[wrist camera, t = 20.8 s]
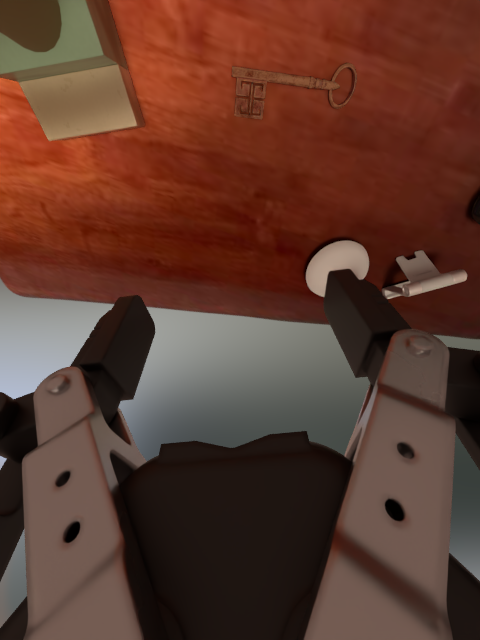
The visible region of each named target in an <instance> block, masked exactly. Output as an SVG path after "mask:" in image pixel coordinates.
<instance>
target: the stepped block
mask: <svg viewBox="0 0 480 640" xmlns="http://www.w3.org/2000/svg"><path fill="white" fill-rule="evenodd" d="M58 3H59V6H60V13H61V22H62V25H61V32H60V38H59V40H58V42H57V43H56V45H55V47H54V48H52V49H50V50H49V51H47V52H33V51H31V50H28V49H26V48H23V47H22V46H20V45H19V44H17V43H16V42H14V41H13V40H11V39H10V38H8V37H7V36H5V35H4V34H2V33H1V32H0V77H1V78H5V79H9V80H13V81H17V82H19V84H20V86H21V88H22V90H23V92H24V94H25V96H26V98H27V100H28V102H29V104H30V105H31V107H32V109H33V111H34V113H35V115H36V117H37V119H38V121H39V123H40V125H41V127H42V129H43V130H44V132H45V134H46V136H47V138H48V140H49V141H56V140H68V139H74V138H80V137H86V136H92V135H98V134H103V133H109V132H115V131H121V130H127V129H133V128H139V127H145V124H144V120H143V117H142V114H141V110H140V107H139V104H138V100H137V97H136V93H135V90H134V87H133V83H132V80H131V77H130V73H129V71H128V67H127V63H126V60H125V57H124V53H123V50H122V47H121V43H120V40H119V37H118V33H117V30H116V27H115V23H114V20H113V16H112V13H111V10H110V6H109V3H108V0H58Z"/></svg>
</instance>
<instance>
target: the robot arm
mask: <svg viewBox="0 0 480 640" xmlns="http://www.w3.org/2000/svg"><path fill="white" fill-rule="evenodd" d="M324 311H325V315H326V317H327V319H328V321H329V323H330V325H331V327H332V329H333V331H334V334H335V336H336V338H337V340H338V342H339V344H340V346H341V348H342V350H343V352H344V354H345V356H346V358H347V360H348V363H349V365H350V367H351V369H352V371H353V373H354V375H355V377H356V378H358V377H368V379H369V381H370V385H369V388H368V390H367V393H366V396H365V399H364V402H363V406H362V408H361V411H360V414H359V417H358V420H357V423H356V426H355V429H354V432H353V434H352V437H351V439H350V442H349V444H348V447H347V450H346V452H345V455H344V456H343V455H342V454H340V453H338V452H337V451H335V450H333V449H331V448H329V447H327V446H324V445H321V444H318V443H315V442H310V441H309V439H308V435H307V431H302V432H291V433H280V434H270V435H267V436H264V437H262V438H259V439H256V440H254V441H251V442H249V443H246V444H244V445H241V446H238V447H235V448H227V447H223V446H218V445H213V444H208V443H203V442H198V441H191V442H179V443H169V444H161V448H160V452H159V456H156V457H154V458H152V459H151V460H149V461H147V462H146V460H145V459H144V457H143V456H142V455H141V453H140V452H139V450H138V448H137V446H136V444H135V442H134V440H133V437H132V435H131V433H130V430H129V428H128V426H127V423H126V421H125V419H124V416H123V414H122V412H121V410H120V409H119V408H118V406H119V404H120V401H122V400H131V399H133V398H134V395H135V392H136V389H137V386H138V383H139V380H140V377H141V374H142V371H143V368H144V365H145V362H146V359H147V356H148V353H149V350H150V347H151V344H152V341H153V338H154V335H155V325H154V322H153V319H152V318H151V316H150V314H149V312H148V310H147V308H146V306H145V304H144V302H143V300H142V298H141V297H140V296H138V295H134V296H126V297H120V298H118V300H117V301H116V303H115V305H114V306H113V308H112V310H109V311H108V312H107V313H106V314H105V315H104V316H103V317H101V318H100V320H99V322H98V323H97V324H96V326H95V327H94V330H93V331H92V332H91V334H90V336H89V338H88V339H87V340H86V342H85V344H84V345H83V347H82V348H81V350H80V352H79V353H78V355H77V356H76V358H75V360H74V361H73V363H72V364H71V366H70V367H66V368H62V369H60V370H58V371H56V372H54V373H52V374H51V375H49V376H48V377H47V378H46V379H44V380H43V381H42V382H41V383H40V385H39V386H38V387H37V389H36V391H35V392H33V393H30V394H27V395H24V396H22V397H19V398H16V399H12V398H11V397H9V396H7V395H6V394H4V393H2V392H0V456H2V457H4V458H7V460H6V462H5V463H4V465H3V466H2V468H1V470H0V581H1V579H2V576H3V574H4V572H5V570H6V567H7V565H8V563H9V561H10V559H11V557H12V554H13V552H14V550H15V548H16V545H17V543H18V541H19V539H20V536H21V534H22V532H23V530H24V529H25V553H26V577H27V597H26V598H25V599H24V600H23V602H22V603H21V604H20V605H19V606H18V608H17V609H16V610H15V612H13V614H12V615H11V616H10V617H9V618H8V620H7V621H6V622H5V623H4V624H3V626H2V627H1V628H0V640H480V581H479V580H478V579H477V578H476V577H475V576H474V575H473V574H472V573H470V572H469V571H468V570H467V569H466V568H465V567H464V566H463V565H462V564H461V563H460V562H459V561H458V560H457V559H456V558H454V557H453V556H452V555H451V554H450V553H449V541H450V523H451V503H452V485H453V468H454V450H455V433H456V434H457V436H458V437H459V439H460V440H461V442H462V444H463V445H464V447H465V448H466V449H467V451H468V453H469V454H470V456H471V458H472V459H473V461H474V462H475V464H476V465H477V467H478V468H479V470H480V351H474V350H467V349H458V348H451V347H447V346H446V345H445V344H444V343H443V342H442V341H441V340H440V339H438V338H437V337H435V336H433V335H431V334H429V333H427V332H424V331H420V330H415V329H412V328H411V327H410V326H409V325H408V324H407V322H406V321H405V320H404V319H403V318H402V317H401V315H400V314H399V313H398V312H397V311H396V310H395V308H394V307H393V306H392V305H391V304H390V303H388V300H387V299H386V298H385V297H384V296H382V293H381V292H380V291H379V289H378V288H377V287H376V286H375V285H373V284H371V283H370V282H368V281H366V280H364V279H361V280H359V279H358V278H357V277H356V275H355V274H354V273H353V271H352V270H351V269H341V270H334V271H330V272H329V273H328V276H327V283H326V290H325V296H324Z"/></svg>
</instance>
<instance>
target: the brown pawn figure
mask: <svg viewBox="0 0 480 640" xmlns="http://www.w3.org/2000/svg"><path fill="white" fill-rule="evenodd" d="M61 25H62V22H61V13H60V6H59V3H58V0H0V32H1V33H2V34H4V35H5V36H7V37H8V38H10V39H11V40H13V41H14V42H16V43H17V44H19V45H20V46H22V47H23V48H26V49H28V50H31V51H33V52H47V51H49V50H50V49H52V48H54V47H55V45H56V43H57V42H58V40H59V38H60V32H61Z"/></svg>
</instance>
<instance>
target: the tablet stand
mask: <svg viewBox="0 0 480 640" xmlns="http://www.w3.org/2000/svg"><path fill="white" fill-rule="evenodd" d="M414 254H415V256H416V258H414V259H411V260H407V259H405V258H404V256H400V257H397V258H396V261H397V263H398V264H399V266H400V267H401V269H402V270H403V272H404V274H405V275H406V277H407V278H408V280H409V281H408V282H404V283H400V284H397V285H393V286H388V287H386V288H383V289H382V293H383V296H384V297H385V298H387V299H389V298H393V297H397V296H400V295H403V296H406V297H408V296H412V295H416V294H420V293H423V292H427V291H431V290H434V289H438V288H442V287H446V286H449V285H453V284H456V283H460V282H464V281H466V279H467V274H466V272H465V271H464V270H462V269H459V270H455V271H451V272H448V273H444V274H440V273H439V272H438V270H437V269H436V268H435V266H434V265H433V264H432V262H431V261H430V260H429V258H428V257H427V256H426V254H425V253H424V251H417V252H414Z"/></svg>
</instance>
